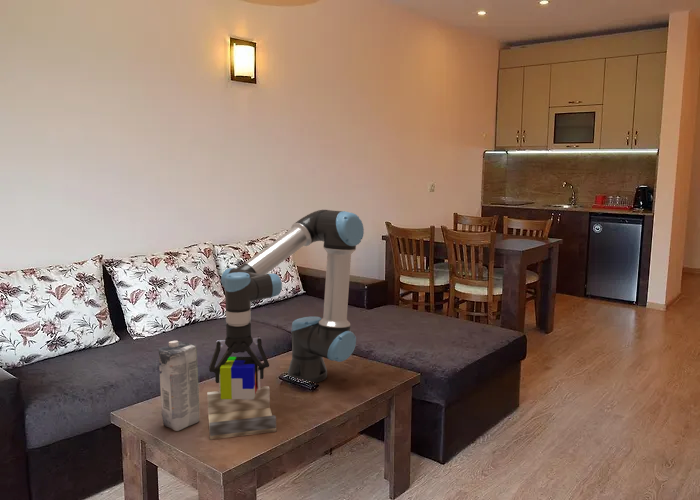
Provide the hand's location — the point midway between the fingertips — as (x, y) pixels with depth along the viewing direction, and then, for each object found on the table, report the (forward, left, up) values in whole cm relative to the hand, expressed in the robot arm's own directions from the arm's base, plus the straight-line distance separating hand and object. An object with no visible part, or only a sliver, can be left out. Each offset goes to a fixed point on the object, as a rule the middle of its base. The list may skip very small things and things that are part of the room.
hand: (239, 390), depth 184 cm
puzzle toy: (0, 0, -1) cm, 1 cm away
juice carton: (+18, -6, -12) cm, 22 cm away
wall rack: (0, -1, -12) cm, 12 cm away
